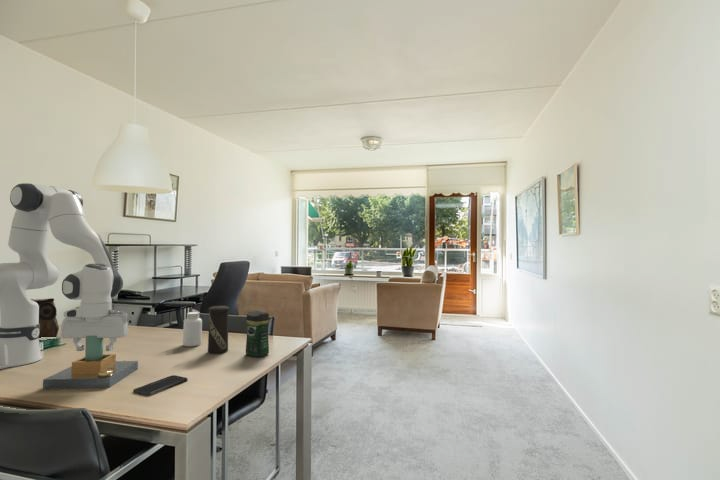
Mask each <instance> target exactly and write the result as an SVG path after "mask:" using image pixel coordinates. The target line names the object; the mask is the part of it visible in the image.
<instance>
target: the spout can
mask: <svg viewBox="0 0 720 480" xmlns="http://www.w3.org/2000/svg"><path fill="white" fill-rule="evenodd" d="M104 339H105V338H97V336H86V338H85V346H84V350H85V352H84V353H85V354H84V357H85V361H100V360H102V359H103V354H104Z"/></svg>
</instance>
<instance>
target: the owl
mask: <svg viewBox="0 0 720 480" xmlns="http://www.w3.org/2000/svg"><path fill="white" fill-rule="evenodd" d="M29 299H30V300H33V301H35V302H36V303H38V305H39V324H40V334H39V338H41V337H57V336H58V333H59V329H60V326H59V322H58V319H57V310H58V309H57V307H56V303H55V302H54V301H55V298H52V297H51V298H35V299H33V298H29ZM57 338H58V337H57Z"/></svg>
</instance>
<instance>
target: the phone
mask: <svg viewBox="0 0 720 480" xmlns="http://www.w3.org/2000/svg"><path fill="white" fill-rule="evenodd" d="M188 381H189V380H188V377H184V376H179V375H175V374H174V375H169V376H166V377H163V378H161V379H158V380H156V381H152V382H149V383H147V384H145V385H141V386H139V387H137V388H133V390H132V392H133V394H137V395H141V396H144V397H151V396H154V395H157V394H159V393H162V392H163V391H166V390H168V389H171V388H174V387H176V386H179V385H181V384H183V383H186V382H188Z"/></svg>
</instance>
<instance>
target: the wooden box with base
mask: <svg viewBox="0 0 720 480" xmlns="http://www.w3.org/2000/svg"><path fill="white" fill-rule="evenodd" d="M116 358H117V354H116V353H103V359H102V360H100V361H85V356H83V357H80V358H77V359H76V360H74V361H71V365H70V367H67V368H65V369H63V370H60V371H58V372H56V373H54V374H52V375H50V376H48V377H45V378H44V379H42V390H58V389H59V390H60V389H61V390H63V389H95V388H97V389H98V388H99V389H102V388H106V389H107V388H111V387H113V386H114V385H115V384H117V383H119V382H120V381H122V380H123V379H125V378H126V377H128V376H130V375H131V374H133V373H134V372H135V371H137V370H138V369H139V361H138V360H125V361H124V360H122V361H121V360H119V361H116V360H117V359H116Z"/></svg>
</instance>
